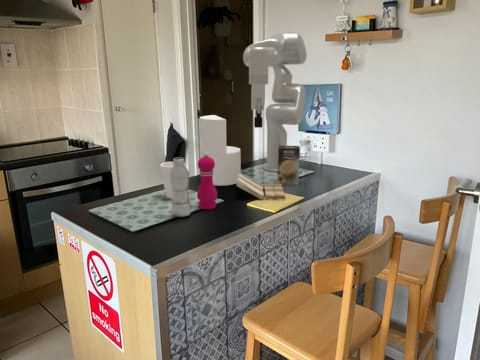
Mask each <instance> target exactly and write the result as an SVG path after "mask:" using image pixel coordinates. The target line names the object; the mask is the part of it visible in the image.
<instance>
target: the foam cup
mask: <svg viewBox="0 0 480 360" xmlns="http://www.w3.org/2000/svg"><path fill="white" fill-rule="evenodd" d="M173 166H174V164H173V161H165V162H162V163H160V166H159V167H160V168H159V169H160V173H161V178H162V182H163V187H164V193H165V197H166V198H167V199H168V198H170V199H169V200H172V197H173V193H172V185H171V180H170V171H171V169H172V168H173ZM184 166H185V167H186V163H185V164H184Z"/></svg>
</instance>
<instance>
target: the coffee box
mask: <svg viewBox="0 0 480 360" xmlns="http://www.w3.org/2000/svg"><path fill="white" fill-rule="evenodd" d="M300 154H301V147H300V145H287V146H283V145H279V148H278V172H276V173H277V177H276V184H282V185H283V186H284V185H285V186H299V177H300V173H299V172H300V157H301V156H300Z"/></svg>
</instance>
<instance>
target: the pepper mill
mask: <svg viewBox="0 0 480 360" xmlns="http://www.w3.org/2000/svg"><path fill="white" fill-rule="evenodd" d="M203 156H204V157H202V158H201V157H200V158H199V159H198V161H197V168H198V169H199V176H200V185H199V187H198V190H197V193H196V196H197V197H196V198H197V199H198V200H199V202H198V208H199V209H202V210H212V209H215V208H216V207H217V201H216V199H217V198H218V192H217V189H216V187H215V185H214V184H213V180H212V176H213V174H214V173H213V172H214V171H213V168H214V167H215V162H214V160H213V159H212V158H211V157H208V156H209V155H208V153H204V155H203Z"/></svg>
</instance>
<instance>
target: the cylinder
mask: <svg viewBox="0 0 480 360" xmlns="http://www.w3.org/2000/svg"><path fill="white" fill-rule="evenodd" d="M199 133H200V135H199V136H200V158H202V157H204V156H203V155H204V153H208V155H209V156H208V157H211V158H212V159H213V160H214V162H215V167H214V168H213V171H214V172H213V173H214V174H213V176H212V180H213V184H214V186H230V185H231V186H232V185H234V184H235V185H237V175H238V173H239V172H241V173H242V171H241V169H242V167H241V163H242V162H241V157H242V156H241V148H240V147H236V146H228V145H227V119H225V118H223V117H220V116H218V115H216V114H211V115H203V116H199Z"/></svg>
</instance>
